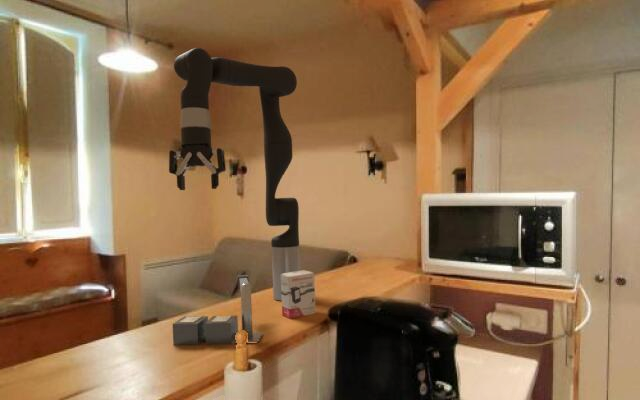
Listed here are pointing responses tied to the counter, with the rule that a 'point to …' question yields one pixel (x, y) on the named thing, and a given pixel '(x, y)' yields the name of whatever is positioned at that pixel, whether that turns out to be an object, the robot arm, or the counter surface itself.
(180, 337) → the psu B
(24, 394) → the counter surface
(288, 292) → the ink box
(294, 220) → the robot arm
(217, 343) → the block
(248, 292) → the post
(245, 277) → the bar
